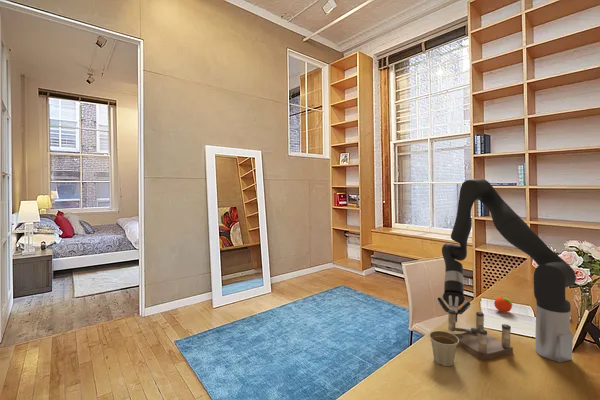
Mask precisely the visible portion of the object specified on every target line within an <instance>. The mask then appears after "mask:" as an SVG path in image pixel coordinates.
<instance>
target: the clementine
mask: <svg viewBox="0 0 600 400" xmlns="http://www.w3.org/2000/svg"><path fill="white" fill-rule="evenodd" d="M493 302H494V307H495V308H496V310H498V312H501V313H508V312H510V311H511V310H512V309H513V303H512V301H510V299H509V298H507V297H505V296H498V297H497V298H495V300H494V301H493Z"/></svg>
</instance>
